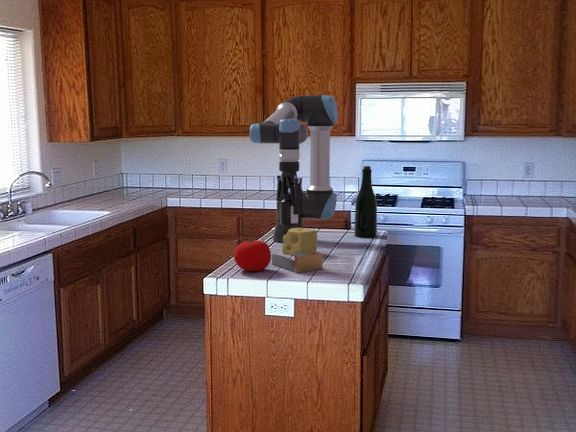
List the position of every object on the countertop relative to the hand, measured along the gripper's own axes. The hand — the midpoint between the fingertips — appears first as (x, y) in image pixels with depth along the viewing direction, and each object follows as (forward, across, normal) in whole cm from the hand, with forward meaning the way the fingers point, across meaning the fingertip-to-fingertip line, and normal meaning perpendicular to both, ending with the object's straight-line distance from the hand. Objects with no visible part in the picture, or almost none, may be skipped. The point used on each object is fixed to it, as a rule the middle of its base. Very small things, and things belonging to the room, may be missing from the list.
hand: (289, 221), depth 259 cm
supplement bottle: (+1, 0, 0) cm, 1 cm away
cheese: (+17, -15, +15) cm, 27 cm away
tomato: (+17, +2, -17) cm, 24 cm away
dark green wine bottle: (+17, -33, +64) cm, 73 cm away
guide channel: (+16, +5, 0) cm, 17 cm away
